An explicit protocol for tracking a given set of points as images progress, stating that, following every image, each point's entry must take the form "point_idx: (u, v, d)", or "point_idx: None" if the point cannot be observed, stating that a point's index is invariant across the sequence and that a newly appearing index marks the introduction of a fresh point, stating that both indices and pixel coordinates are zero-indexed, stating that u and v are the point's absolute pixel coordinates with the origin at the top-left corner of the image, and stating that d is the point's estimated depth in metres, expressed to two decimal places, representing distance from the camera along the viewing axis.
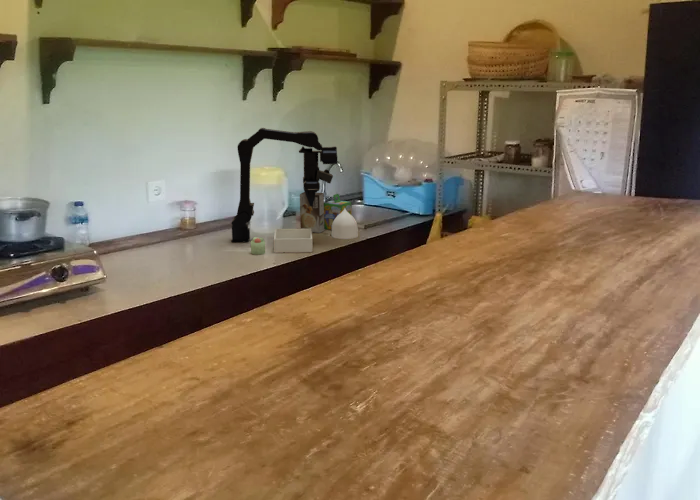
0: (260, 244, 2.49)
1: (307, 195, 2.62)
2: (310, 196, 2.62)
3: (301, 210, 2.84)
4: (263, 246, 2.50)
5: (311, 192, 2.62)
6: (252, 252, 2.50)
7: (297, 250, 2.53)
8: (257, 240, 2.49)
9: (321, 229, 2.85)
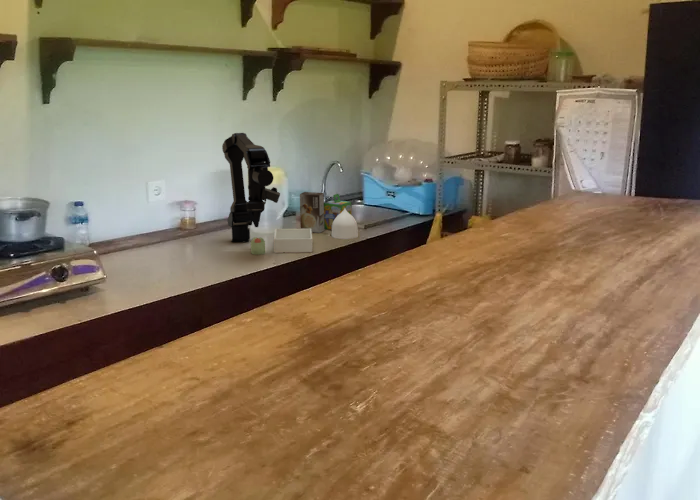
0: (260, 244, 2.49)
1: (251, 216, 2.42)
2: (254, 217, 2.43)
3: (301, 210, 2.84)
4: (263, 246, 2.50)
5: (256, 212, 2.43)
6: (252, 252, 2.50)
7: (297, 250, 2.53)
8: (257, 240, 2.49)
9: (321, 229, 2.85)
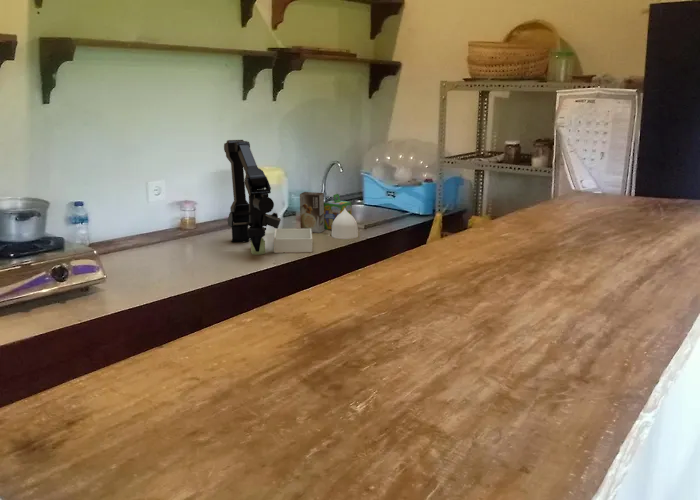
0: (260, 244, 2.49)
1: (252, 240, 2.46)
2: (255, 242, 2.47)
3: (301, 210, 2.84)
4: (263, 246, 2.50)
5: (257, 237, 2.47)
6: (252, 252, 2.50)
7: (297, 250, 2.53)
8: None
9: (321, 229, 2.85)
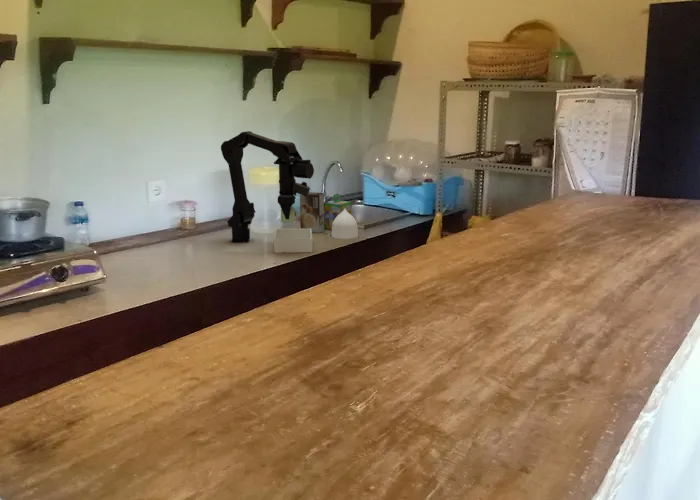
0: (290, 212, 2.54)
1: (282, 208, 2.51)
2: (285, 209, 2.52)
3: (301, 210, 2.84)
4: (293, 214, 2.55)
5: (286, 205, 2.51)
6: (282, 220, 2.55)
7: (297, 250, 2.53)
8: None
9: (321, 229, 2.85)
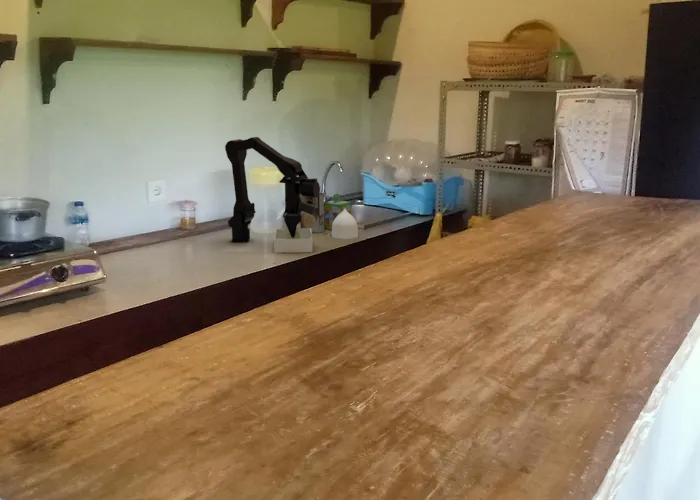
0: (296, 236, 2.58)
1: (288, 227, 2.54)
2: (291, 228, 2.54)
3: None
4: (298, 238, 2.59)
5: (292, 224, 2.54)
6: None
7: (297, 250, 2.53)
8: None
9: (321, 229, 2.85)
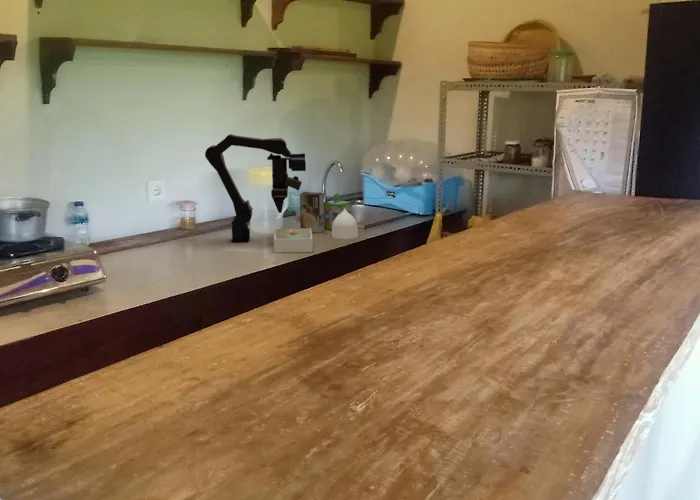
0: (296, 236, 2.58)
1: (275, 202, 2.61)
2: (278, 203, 2.62)
3: (301, 210, 2.84)
4: (298, 238, 2.59)
5: (279, 199, 2.62)
6: None
7: (297, 250, 2.53)
8: (293, 233, 2.58)
9: (321, 229, 2.85)
